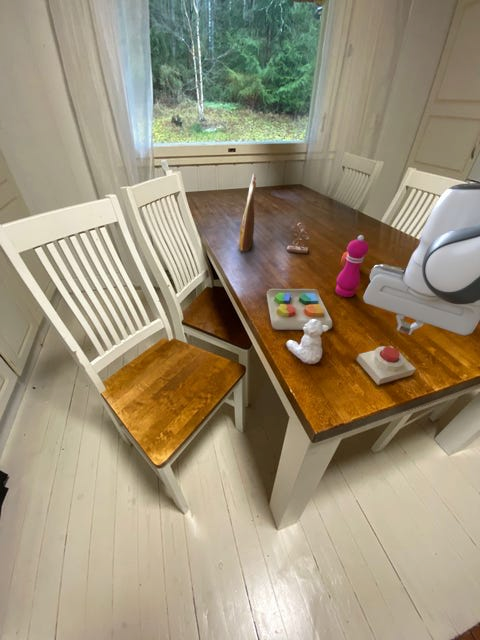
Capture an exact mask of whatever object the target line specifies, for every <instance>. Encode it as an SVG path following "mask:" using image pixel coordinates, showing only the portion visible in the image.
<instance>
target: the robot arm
mask: <svg viewBox="0 0 480 640" xmlns="http://www.w3.org/2000/svg"><path fill="white" fill-rule="evenodd" d="M410 256H411V257H410V259H409V261H408V263H407V266H406V268H403V267H399V266H394V265H389V264H386V263H381V264H376V265H373V267H372V268H371V269H370V272H369V277H368V278H369V280H370V283H369V284H368V286H367V287H366V289H365V292H364V294H363V296H362V299H363V302H364V303H365V304H367V305H370V306H373V307H376V308H379V309H381V310H385V311H388V312H391V313H395V314H396V316H395V318H396V321H397V327H396V329H395V330H396V331H397V332H400V333H403V334H406V335H408V336H411V335H412V333H413V331H415V330H417V329H420V328H421V327H423V326H424V324H427V325H430V326H433V327H436V328H439V329H442V330H446V331H449V332H451V333H455V334H457V335H461V336H468V335H471V334H473V332H474V331H475V330H476V328H477V326H478V324H479V322H480V182H469V183H468V182H467V183H459V184H455V185H452V186H450V187H448V188H447V189H445V190H444V191H443V192H442V194H441V195H440V196H439V198H438V199H437V201H436V202H435V204H434V205H433V208H432V210H431V212H430V213H429V215H428V218H427V219H426V221H425V224H424V226H423V228H422V230H421V233H420V241H419V244H418V246H417V247H416V248H415V250H414V251H413V252H412V255H410ZM405 317H406V318H409V319H411V320H414V321H415V322H413V323H409V322H407V321H404V320H405V319H404V318H405Z"/></svg>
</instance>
